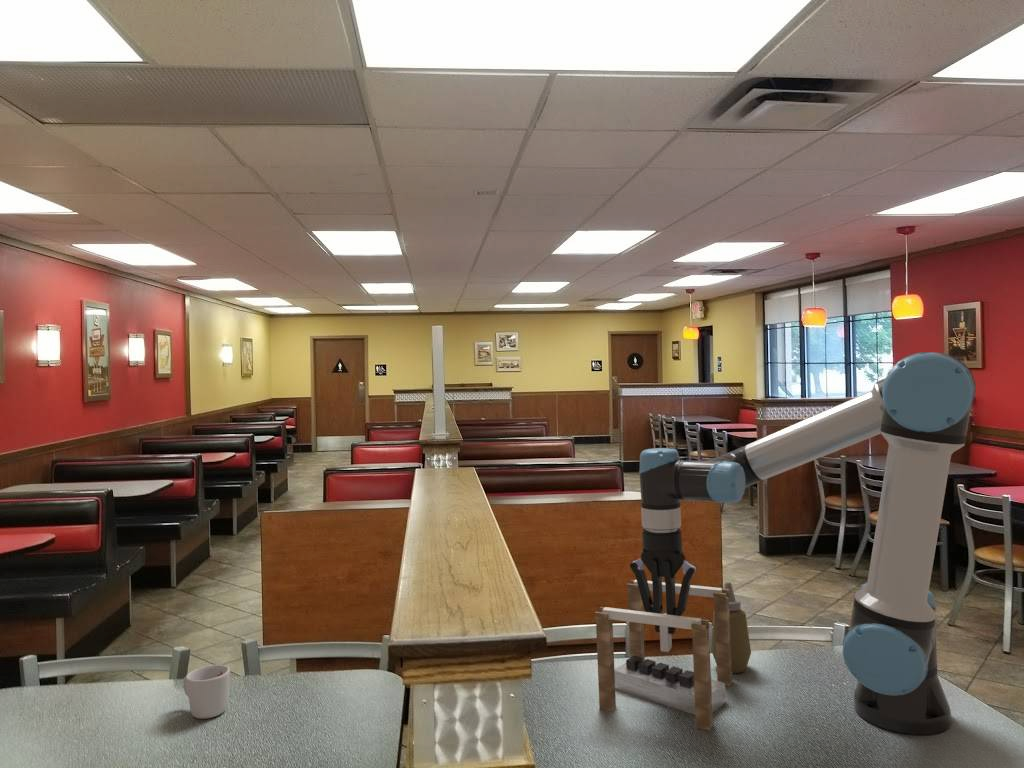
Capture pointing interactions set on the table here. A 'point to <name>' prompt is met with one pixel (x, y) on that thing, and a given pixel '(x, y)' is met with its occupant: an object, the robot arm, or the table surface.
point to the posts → (699, 653)
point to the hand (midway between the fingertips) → (666, 649)
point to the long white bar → (651, 618)
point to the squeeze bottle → (735, 634)
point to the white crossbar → (692, 591)
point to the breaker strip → (663, 684)
